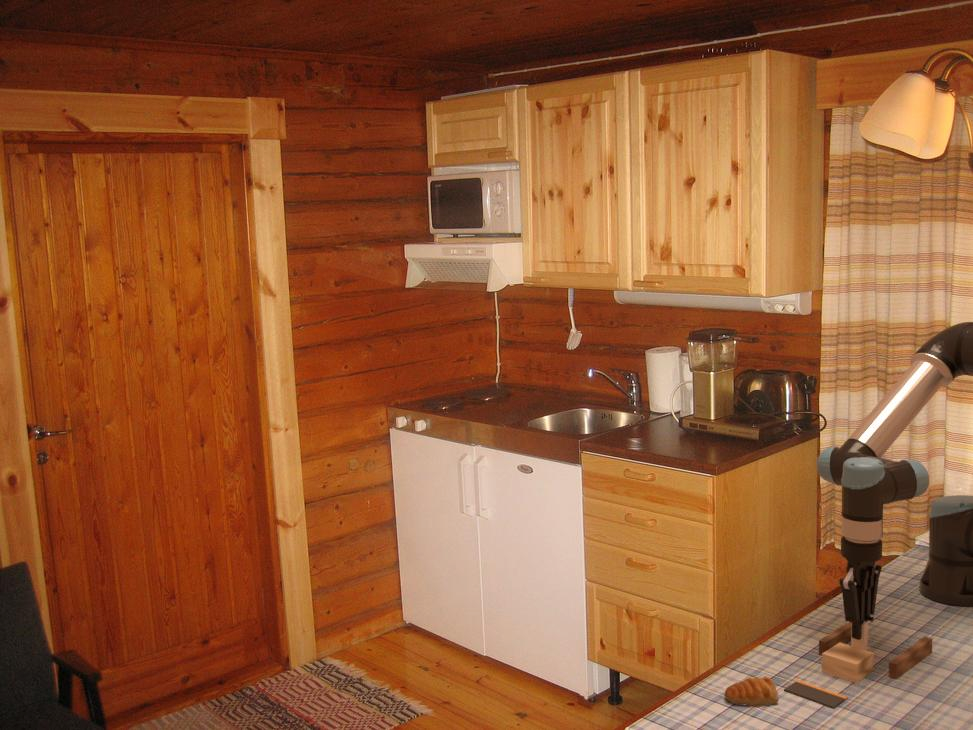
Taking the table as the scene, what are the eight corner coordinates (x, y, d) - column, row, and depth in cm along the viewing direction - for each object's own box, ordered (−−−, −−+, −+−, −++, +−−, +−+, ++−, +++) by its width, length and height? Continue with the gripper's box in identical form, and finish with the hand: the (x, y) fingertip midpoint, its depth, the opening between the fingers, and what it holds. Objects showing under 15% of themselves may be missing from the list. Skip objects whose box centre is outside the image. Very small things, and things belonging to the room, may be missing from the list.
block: (839, 661, 195) (839, 642, 194) (873, 672, 189) (873, 652, 189) (821, 672, 190) (822, 653, 189) (856, 684, 185) (856, 664, 184)
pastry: (732, 710, 176) (732, 691, 176) (719, 693, 183) (718, 674, 183) (781, 705, 178) (781, 686, 177) (766, 689, 184) (766, 670, 184)
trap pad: (797, 681, 186) (797, 680, 186) (847, 698, 179) (847, 697, 179) (784, 690, 183) (784, 689, 183) (833, 708, 175) (833, 706, 175)
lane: (856, 630, 208) (856, 617, 208) (931, 652, 196) (932, 638, 196) (818, 654, 197) (818, 640, 197) (896, 679, 186) (896, 664, 185)
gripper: (859, 526, 196) (856, 636, 199) (826, 541, 187) (825, 657, 190) (895, 533, 190) (892, 647, 194) (864, 550, 182) (861, 669, 185)
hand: (859, 652), depth 192 cm, fingers closed
